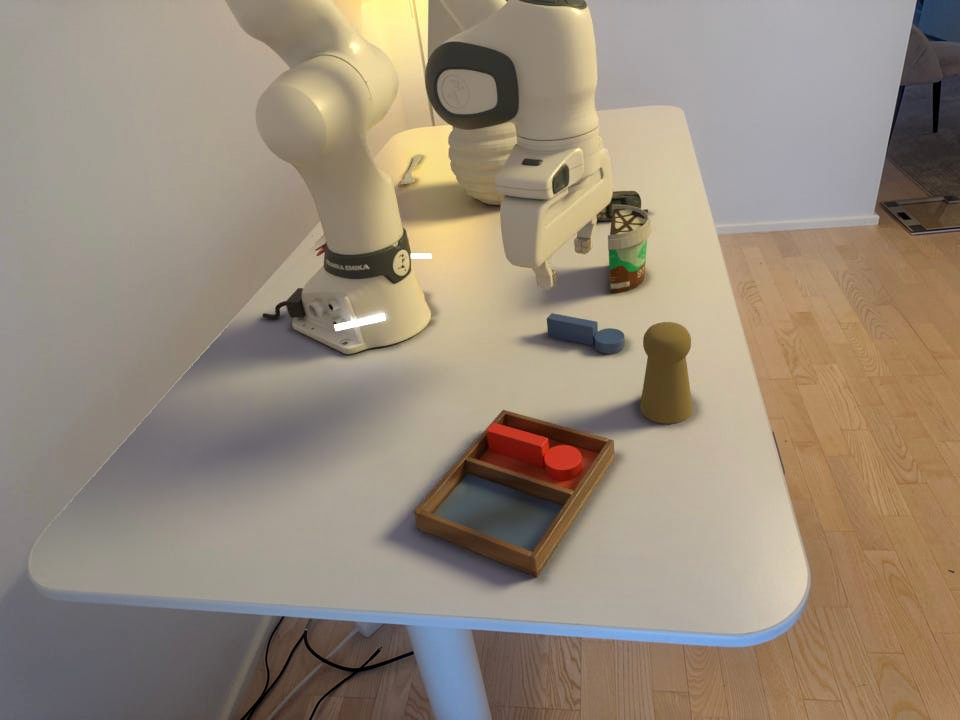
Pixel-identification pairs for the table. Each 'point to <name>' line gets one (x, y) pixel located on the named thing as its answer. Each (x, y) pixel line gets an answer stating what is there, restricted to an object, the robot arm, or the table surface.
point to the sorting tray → (513, 497)
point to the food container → (627, 247)
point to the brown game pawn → (666, 374)
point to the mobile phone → (620, 203)
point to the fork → (409, 178)
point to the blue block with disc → (585, 333)
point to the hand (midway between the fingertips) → (566, 268)
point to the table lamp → (471, 149)
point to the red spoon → (535, 451)
